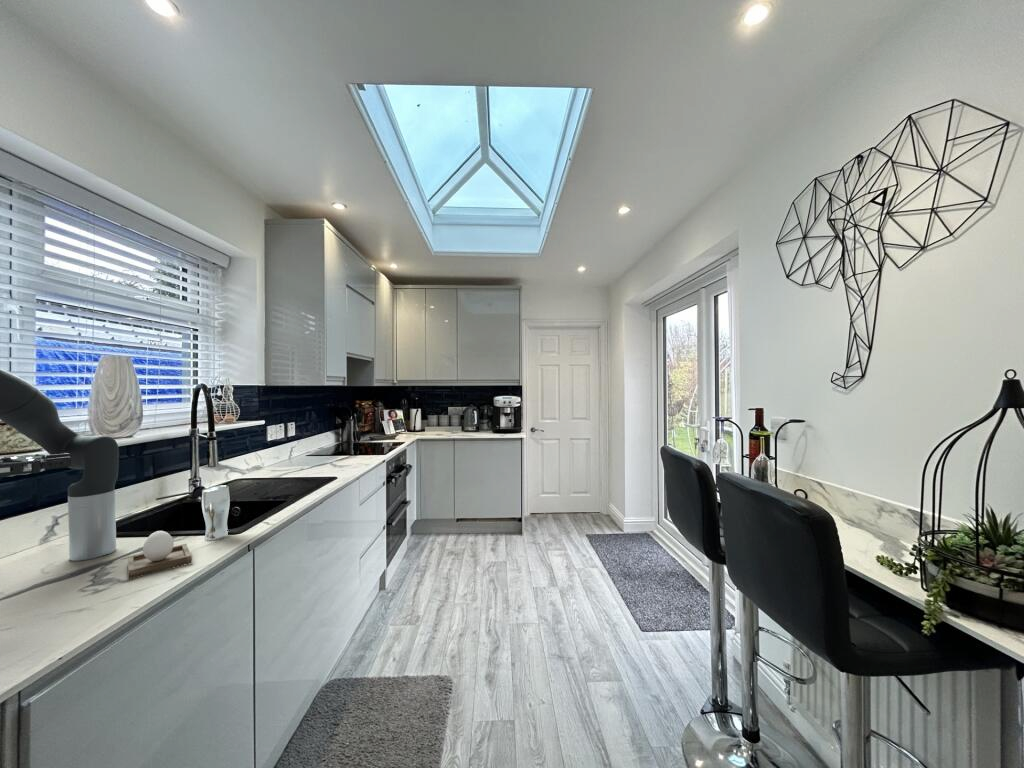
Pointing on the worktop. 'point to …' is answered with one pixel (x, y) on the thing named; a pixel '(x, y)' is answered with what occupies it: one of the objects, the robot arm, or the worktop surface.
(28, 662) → the worktop surface
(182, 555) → the walnut tray
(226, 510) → the beer glass
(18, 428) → the robot arm
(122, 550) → the worktop surface
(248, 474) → the worktop surface
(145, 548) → the egg
